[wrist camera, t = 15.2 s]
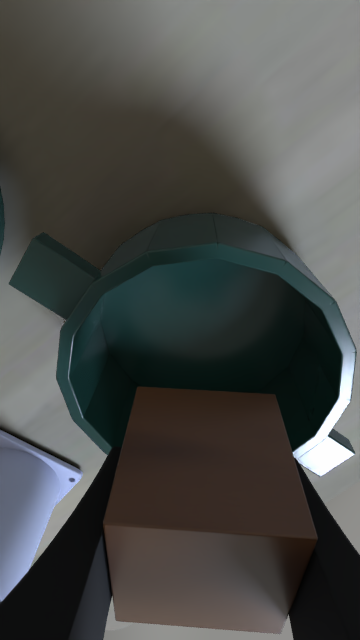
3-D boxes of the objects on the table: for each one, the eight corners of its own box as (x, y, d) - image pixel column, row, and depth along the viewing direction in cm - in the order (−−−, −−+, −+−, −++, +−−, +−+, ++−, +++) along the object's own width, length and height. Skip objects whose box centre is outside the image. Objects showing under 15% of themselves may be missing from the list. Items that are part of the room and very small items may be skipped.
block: (256, 484, 13) (281, 634, 9) (140, 476, 13) (115, 621, 9) (275, 393, 11) (319, 539, 7) (137, 385, 11) (102, 523, 7)
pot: (244, 451, 25) (256, 533, 20) (17, 315, 20) (-45, 375, 15) (392, 333, 20) (461, 403, 14) (131, 116, 15) (95, 104, 10)
